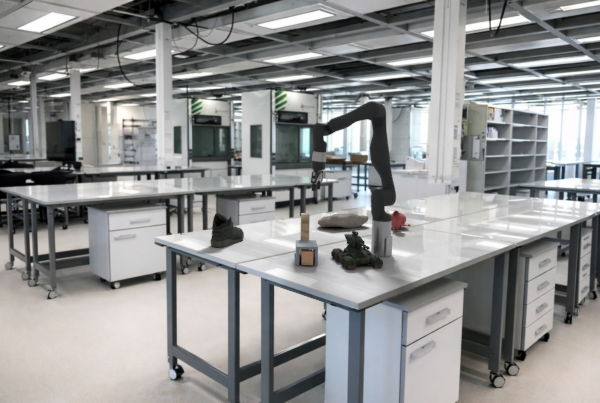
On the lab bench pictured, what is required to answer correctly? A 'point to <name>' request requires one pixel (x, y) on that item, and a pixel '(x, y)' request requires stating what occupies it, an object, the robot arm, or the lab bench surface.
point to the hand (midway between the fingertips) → (315, 190)
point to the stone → (343, 220)
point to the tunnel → (307, 245)
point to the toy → (398, 220)
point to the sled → (305, 230)
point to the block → (307, 255)
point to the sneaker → (225, 232)
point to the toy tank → (356, 253)
